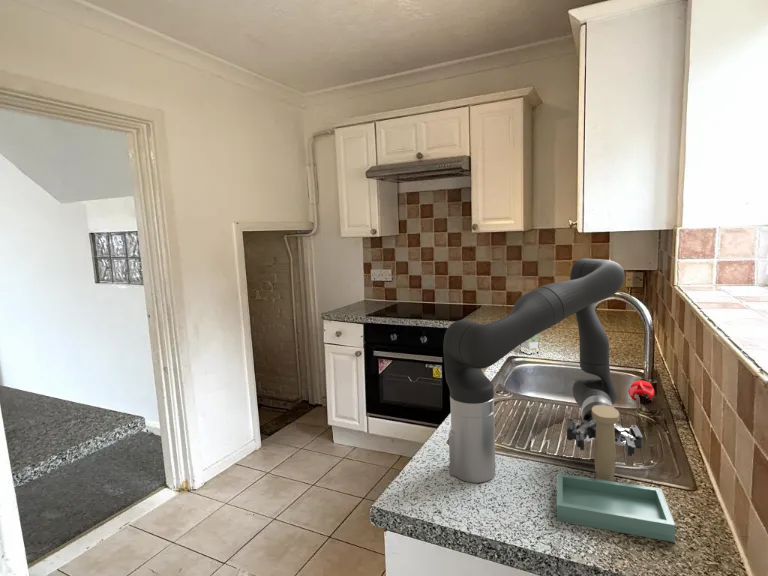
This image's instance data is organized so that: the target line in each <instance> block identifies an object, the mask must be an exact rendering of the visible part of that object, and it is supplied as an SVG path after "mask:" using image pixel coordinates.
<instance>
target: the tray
mask: <svg viewBox="0 0 768 576" xmlns="http://www.w3.org/2000/svg"><path fill="white" fill-rule="evenodd" d="M674 520H675V519H674V518H673V516H672V512H671V510H670V508H669V505H668V503H667V500H666V498H665V495H664V492H663V490H662V488H659V487H654V486H653V487H652V486H645V485H640V484H633V483H626V482H625V483H624V482H618V481H606V480H599V479H596V478H590V477H583V476H579V475H577V476H576V475H571V474H562V473H557V474H556V521H557V522H562V523H568V524H572V525H578V526H584V527H588V528H589V527H590V528H595V529H600V530H606V531H611V532H616V533H622V534H628V535H633V536H638V537H645V538H650V539H655V540H660V541H665V542H670V543H675V542H676V522H675V521H674Z"/></svg>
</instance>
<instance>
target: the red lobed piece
mask: <svg viewBox="0 0 768 576" xmlns="http://www.w3.org/2000/svg"><path fill="white" fill-rule="evenodd" d="M643 393H645V395H648V397H649V401H650V400H652V401H653V397H654V396H655V389H654V387H653V386H652V384H651V383H650V382H649V381H645V380H636V381H634V382H633V383H631V385H630V387H629V388H628V395H629V398H631V400H632V401H634V402H635V401H637V398H636V397H635V396H636V395H637V396H644V395H643Z"/></svg>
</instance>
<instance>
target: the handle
mask: <svg viewBox="0 0 768 576" xmlns="http://www.w3.org/2000/svg"><path fill="white" fill-rule="evenodd" d="M592 418H593V419H594V420H596V438H595V439H594V440H595V442H594V453H593V454H594V457H593V458H594V470H595V479H599V480H606V481H613V482H615V481H614V480H615V471H616V459H617V458H616V457H617V456H616V454H617V453H616V444H615V432H614V424H616V423H618V422H619V423H620V412H619V410H618V409H616V408H615V407H614V408H613V407H610V406H604V405H596V406H594V407H593V408H592Z"/></svg>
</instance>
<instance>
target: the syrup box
mask: <svg viewBox="0 0 768 576" xmlns="http://www.w3.org/2000/svg"><path fill="white" fill-rule="evenodd" d="M520 346H521V347H524V348H527V349H531V348H539V349H540V333H539V334H537V335H535V336H534V337H532V338H530V339H529V340H527V341H525V342H523V343H522V344H520V345H519V347H520Z"/></svg>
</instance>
